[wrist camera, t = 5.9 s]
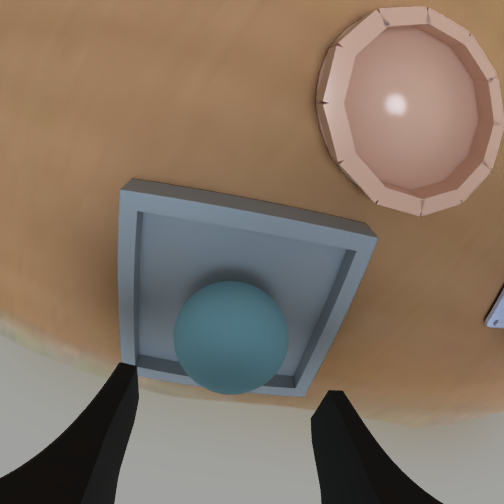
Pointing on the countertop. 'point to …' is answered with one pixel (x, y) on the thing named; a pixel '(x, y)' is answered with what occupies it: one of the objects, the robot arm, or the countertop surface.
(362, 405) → the countertop surface
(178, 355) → the ball
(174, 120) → the countertop surface
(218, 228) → the tray
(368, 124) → the dish
